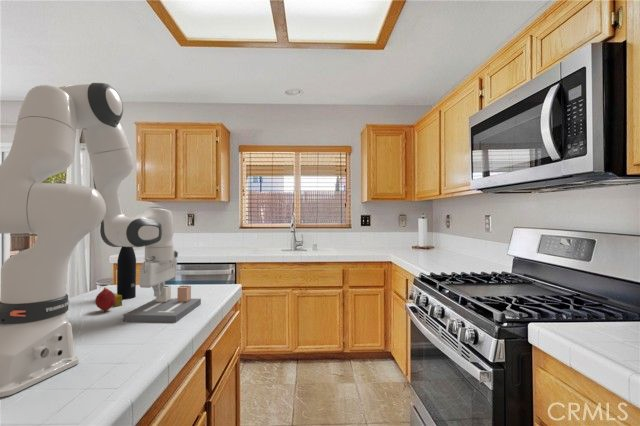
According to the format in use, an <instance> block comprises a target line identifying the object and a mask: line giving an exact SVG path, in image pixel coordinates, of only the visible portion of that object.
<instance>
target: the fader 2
mask: <svg viewBox="0 0 640 426" xmlns="http://www.w3.org/2000/svg"><path fill="white" fill-rule="evenodd" d="M176 298H177V302H187V301H189V300H190V299H192V285H188V284H187V285H179V286H178V287H177V297H176Z"/></svg>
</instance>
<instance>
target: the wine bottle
mask: <svg viewBox="0 0 640 426" xmlns="http://www.w3.org/2000/svg"><path fill="white" fill-rule="evenodd" d="M136 256H137V255H136V253H135V250H134V247H120V250H119V253H118V256H117V263H116V264H117V265H116V266H117V267H116V268H117V269H116V270H117V274H116V275H117V277H116V278H117V279H116V294H119V295H122V300H129V299H130V300H131V299H134V298H136V295H137V294H136V293H137V292H136V289H137V288H136V286H137V283H136V282H137V257H136Z"/></svg>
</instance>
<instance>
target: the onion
mask: <svg viewBox="0 0 640 426" xmlns="http://www.w3.org/2000/svg"><path fill="white" fill-rule="evenodd" d="M112 292H113V291H111V290H110V289H109V288H107V287H106V286H104V287H103V289H102V290H101V291H100V292H99V293H98V294H97V295H96V296H95V300H94V301H95V302H94V303H95V305H96V307H97V308H98V309H99V310H101V311H103V312H107V311H108V310H110V309H112V307H113V305H114V304H115V301H116V297H115V295H114V294H113V293H114V292H113V293H112Z"/></svg>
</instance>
